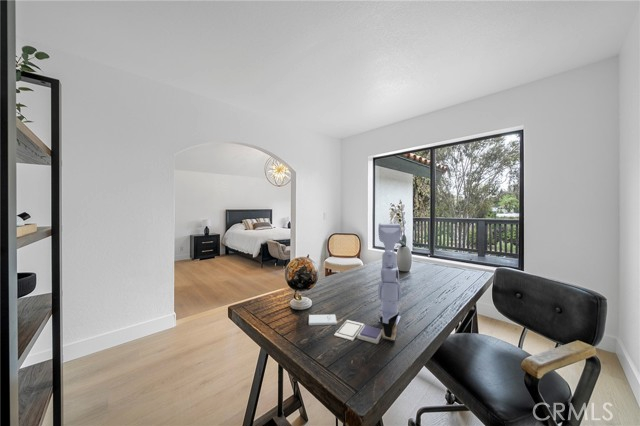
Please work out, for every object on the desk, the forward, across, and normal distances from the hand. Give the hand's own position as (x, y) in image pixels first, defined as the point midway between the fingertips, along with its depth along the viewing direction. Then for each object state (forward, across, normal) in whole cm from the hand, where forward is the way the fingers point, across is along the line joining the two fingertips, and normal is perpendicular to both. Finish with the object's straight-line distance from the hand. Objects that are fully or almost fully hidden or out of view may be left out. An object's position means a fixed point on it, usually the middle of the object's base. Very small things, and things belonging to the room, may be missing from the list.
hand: (389, 333), depth 91 cm
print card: (+3, 0, -16) cm, 17 cm away
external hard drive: (+4, -2, -30) cm, 31 cm away
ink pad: (+3, 0, -8) cm, 8 cm away
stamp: (+2, 0, 0) cm, 2 cm away
